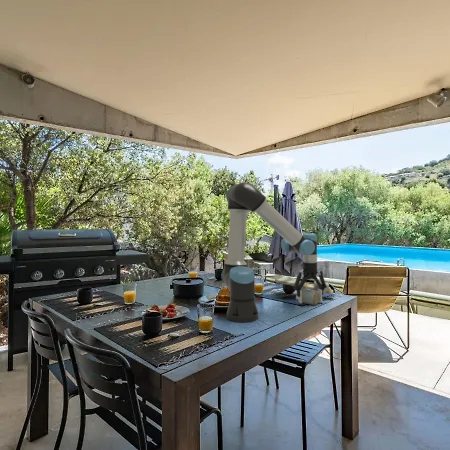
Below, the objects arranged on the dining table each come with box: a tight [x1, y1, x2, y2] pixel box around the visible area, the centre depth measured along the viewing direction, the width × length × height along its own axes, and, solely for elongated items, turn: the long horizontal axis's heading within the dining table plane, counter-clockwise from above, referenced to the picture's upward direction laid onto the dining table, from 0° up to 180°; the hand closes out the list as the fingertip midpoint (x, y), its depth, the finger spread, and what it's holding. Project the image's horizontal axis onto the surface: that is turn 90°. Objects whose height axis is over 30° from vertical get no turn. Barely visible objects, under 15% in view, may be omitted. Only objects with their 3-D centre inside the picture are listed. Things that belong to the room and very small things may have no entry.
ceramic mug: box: [301, 289, 320, 306], centre depth 181 cm, size 11×8×8 cm
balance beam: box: [274, 274, 334, 295], centre depth 194 cm, size 33×15×5 cm, turn 75°
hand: (310, 301), depth 180 cm, fingers closed on ceramic mug, 11 cm apart
